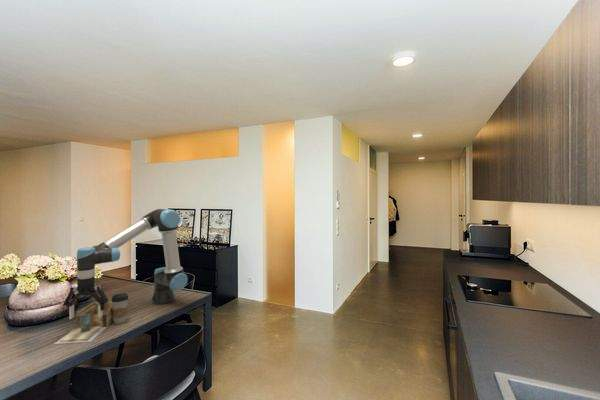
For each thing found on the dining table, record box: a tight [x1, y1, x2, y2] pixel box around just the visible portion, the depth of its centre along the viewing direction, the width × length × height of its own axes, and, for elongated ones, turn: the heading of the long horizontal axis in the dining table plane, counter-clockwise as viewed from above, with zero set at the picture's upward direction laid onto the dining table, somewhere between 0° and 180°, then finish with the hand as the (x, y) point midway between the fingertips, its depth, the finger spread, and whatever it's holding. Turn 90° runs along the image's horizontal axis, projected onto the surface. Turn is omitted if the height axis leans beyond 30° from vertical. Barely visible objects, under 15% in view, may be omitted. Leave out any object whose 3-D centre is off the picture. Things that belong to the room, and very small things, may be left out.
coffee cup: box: [110, 293, 129, 325], centre depth 165 cm, size 8×8×15 cm
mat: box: [53, 326, 108, 345], centre depth 148 cm, size 16×16×1 cm
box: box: [75, 301, 114, 329], centre depth 164 cm, size 15×16×8 cm
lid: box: [59, 314, 102, 342], centre depth 148 cm, size 12×14×9 cm
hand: (86, 317), depth 151 cm, fingers open, 13 cm apart
